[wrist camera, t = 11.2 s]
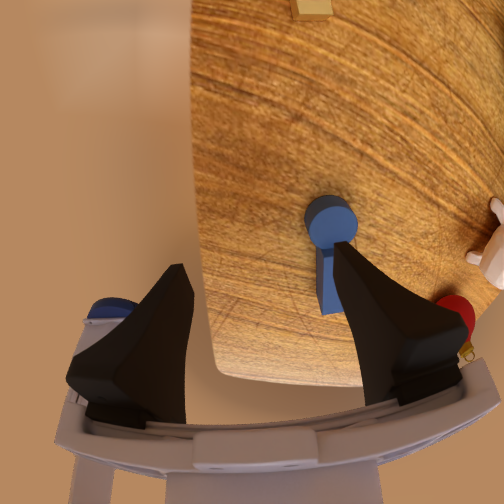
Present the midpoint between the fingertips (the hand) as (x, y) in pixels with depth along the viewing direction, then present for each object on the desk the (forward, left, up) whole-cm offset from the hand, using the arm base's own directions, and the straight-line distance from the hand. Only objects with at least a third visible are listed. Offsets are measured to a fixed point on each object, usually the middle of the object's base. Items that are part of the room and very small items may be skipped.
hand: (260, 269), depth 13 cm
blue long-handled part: (+6, -7, -9) cm, 13 cm away
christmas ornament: (+23, -19, -10) cm, 31 cm away
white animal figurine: (+28, -8, -10) cm, 30 cm away
